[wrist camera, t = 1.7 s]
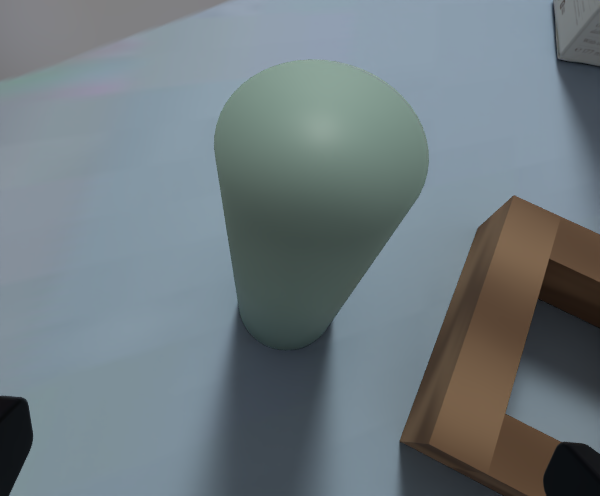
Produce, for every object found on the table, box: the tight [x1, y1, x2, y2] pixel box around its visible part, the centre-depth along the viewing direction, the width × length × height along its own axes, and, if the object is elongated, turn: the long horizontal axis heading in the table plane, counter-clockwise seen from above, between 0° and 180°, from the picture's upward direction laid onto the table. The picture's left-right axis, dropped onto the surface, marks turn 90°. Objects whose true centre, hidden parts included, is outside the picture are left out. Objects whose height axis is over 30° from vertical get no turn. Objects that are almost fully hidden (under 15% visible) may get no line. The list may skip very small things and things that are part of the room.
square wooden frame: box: [400, 196, 600, 496], centre depth 19 cm, size 11×11×4 cm
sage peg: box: [214, 60, 429, 350], centre depth 15 cm, size 4×4×12 cm
